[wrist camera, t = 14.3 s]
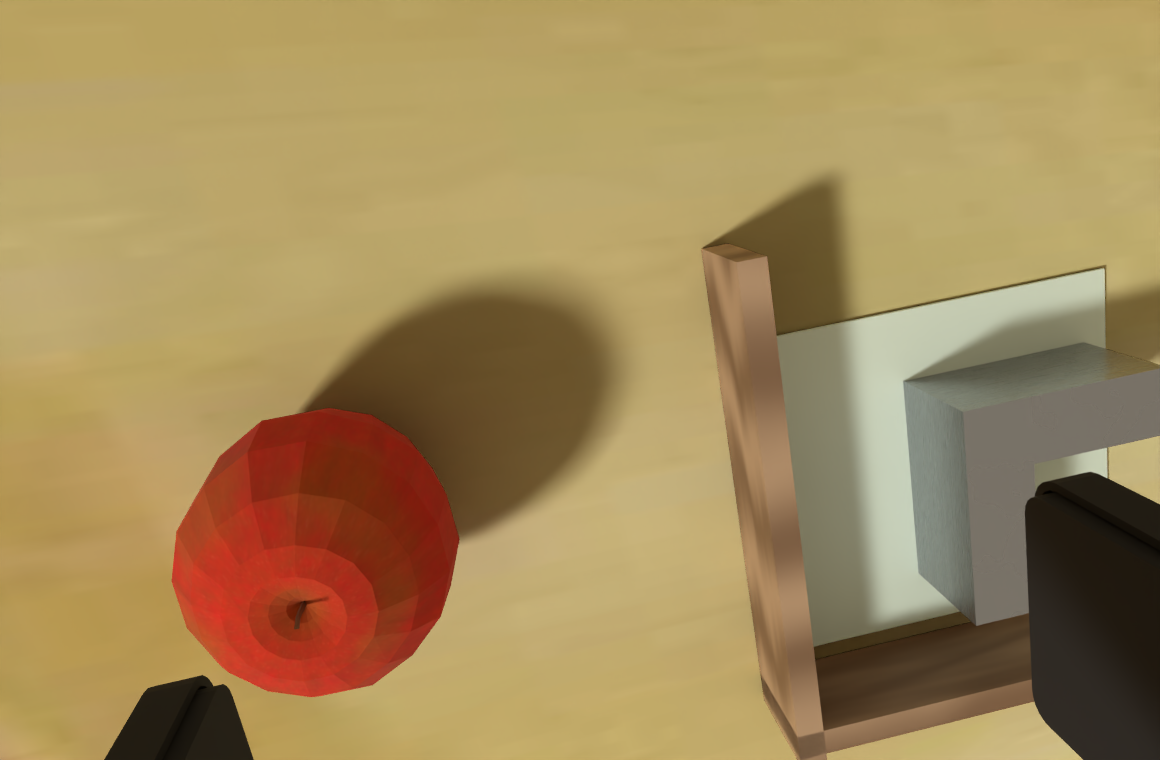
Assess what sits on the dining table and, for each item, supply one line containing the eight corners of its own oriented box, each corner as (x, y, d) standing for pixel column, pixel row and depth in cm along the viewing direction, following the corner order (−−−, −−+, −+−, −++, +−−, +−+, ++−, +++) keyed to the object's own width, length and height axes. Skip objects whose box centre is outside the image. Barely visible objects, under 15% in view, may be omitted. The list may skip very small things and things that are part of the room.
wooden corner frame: (701, 248, 38) (736, 262, 33) (1128, 164, 39) (1222, 165, 34) (764, 700, 44) (801, 767, 39) (1131, 610, 45) (1210, 664, 41)
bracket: (903, 381, 40) (962, 411, 35) (1083, 342, 41) (1166, 366, 36) (918, 573, 43) (976, 625, 38) (1087, 533, 44) (1165, 580, 39)
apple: (239, 361, 36) (141, 452, 25) (478, 404, 38) (485, 506, 27) (208, 581, 38) (106, 753, 27) (436, 611, 40) (426, 784, 29)
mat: (770, 336, 39) (772, 337, 39) (1101, 267, 40) (1104, 268, 40) (808, 645, 43) (809, 647, 43) (1105, 574, 45) (1108, 575, 44)
